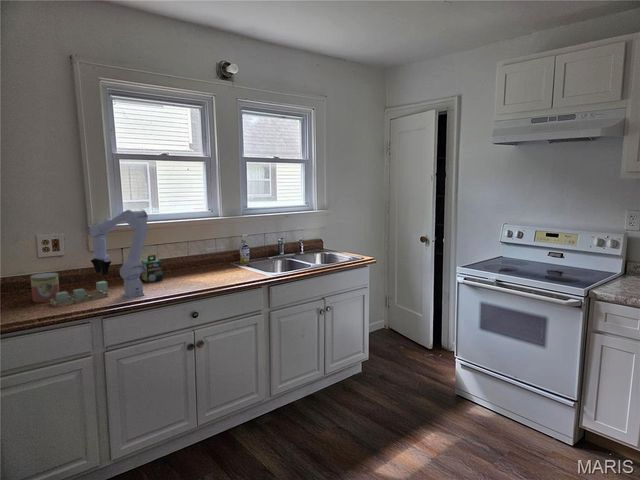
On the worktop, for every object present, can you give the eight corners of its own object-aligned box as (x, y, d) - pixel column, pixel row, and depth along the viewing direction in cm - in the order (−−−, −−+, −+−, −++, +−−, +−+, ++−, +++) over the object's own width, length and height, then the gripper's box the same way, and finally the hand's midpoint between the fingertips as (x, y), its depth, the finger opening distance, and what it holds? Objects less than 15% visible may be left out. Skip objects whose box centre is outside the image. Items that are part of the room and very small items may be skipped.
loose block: (107, 291, 216) (107, 282, 216) (99, 293, 213) (99, 283, 213) (104, 290, 219) (104, 280, 218) (96, 291, 216) (96, 282, 215)
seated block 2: (85, 299, 200) (85, 289, 199) (76, 301, 197) (75, 291, 196) (82, 298, 203) (81, 288, 202) (73, 299, 200) (72, 289, 199)
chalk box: (157, 277, 248) (156, 253, 246) (163, 280, 242) (162, 255, 239) (141, 279, 242) (140, 254, 240) (147, 282, 235) (145, 257, 233)
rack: (107, 297, 206) (107, 293, 205) (56, 307, 189) (55, 302, 188) (100, 294, 211) (100, 290, 211) (50, 303, 194) (49, 299, 194)
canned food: (32, 304, 194) (30, 279, 192) (32, 298, 203) (29, 274, 201) (61, 300, 200) (59, 276, 198) (59, 294, 209) (57, 271, 207)
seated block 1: (69, 303, 195) (68, 292, 194) (59, 305, 192) (58, 294, 191) (66, 301, 197) (65, 291, 196) (56, 303, 194) (55, 293, 193)
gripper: (114, 248, 212) (116, 274, 214) (101, 245, 221) (103, 270, 223) (100, 250, 207) (102, 276, 209) (87, 247, 216) (89, 272, 218)
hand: (101, 273), depth 216 cm, fingers open, 7 cm apart
